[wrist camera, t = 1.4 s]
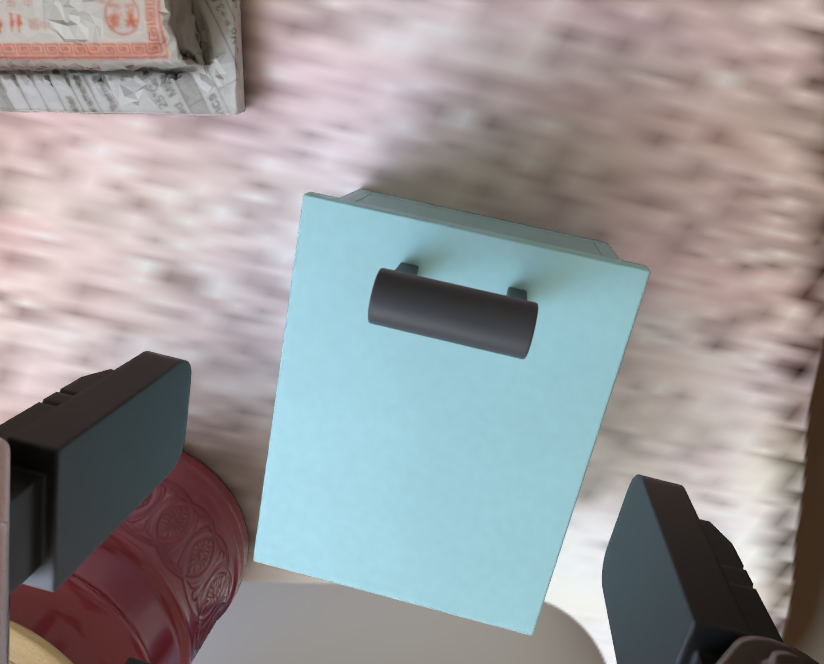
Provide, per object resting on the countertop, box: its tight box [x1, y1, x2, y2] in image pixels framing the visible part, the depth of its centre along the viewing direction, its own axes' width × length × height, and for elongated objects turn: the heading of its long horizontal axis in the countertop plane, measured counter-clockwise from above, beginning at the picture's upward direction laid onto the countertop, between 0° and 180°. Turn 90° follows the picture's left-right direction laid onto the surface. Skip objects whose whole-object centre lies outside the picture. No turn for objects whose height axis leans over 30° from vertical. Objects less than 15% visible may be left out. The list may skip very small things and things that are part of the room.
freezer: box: [341, 189, 620, 260], centre depth 31 cm, size 16×13×9 cm
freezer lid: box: [253, 192, 650, 635], centre depth 24 cm, size 16×13×5 cm
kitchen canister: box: [9, 452, 248, 664], centre depth 33 cm, size 13×13×18 cm
